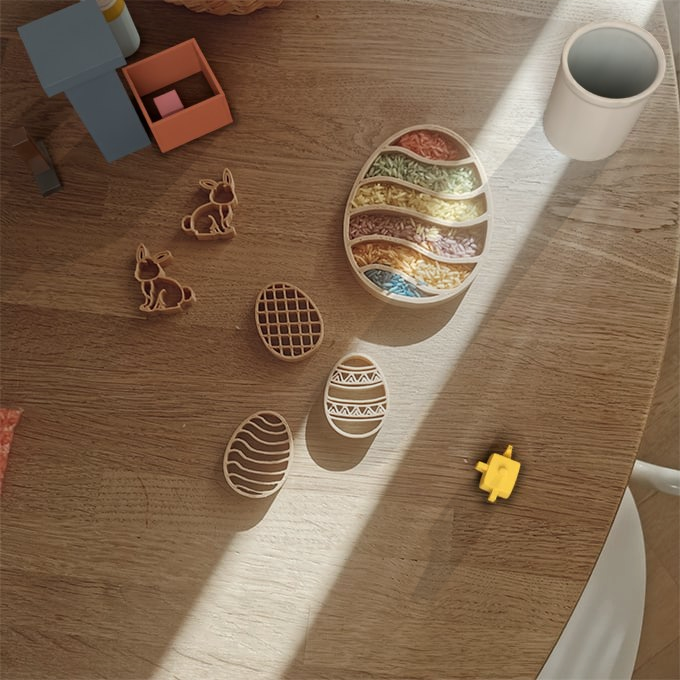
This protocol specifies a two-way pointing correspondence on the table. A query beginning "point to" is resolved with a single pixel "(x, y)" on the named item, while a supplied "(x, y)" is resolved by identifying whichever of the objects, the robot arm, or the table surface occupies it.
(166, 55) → the bin
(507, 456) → the teapot
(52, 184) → the dark grey angular piece
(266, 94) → the table surface
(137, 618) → the table surface
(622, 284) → the table surface
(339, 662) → the table surface
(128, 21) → the bottle
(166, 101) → the pink rectangular block
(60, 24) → the blue t-shaped block
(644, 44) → the utensil holder
